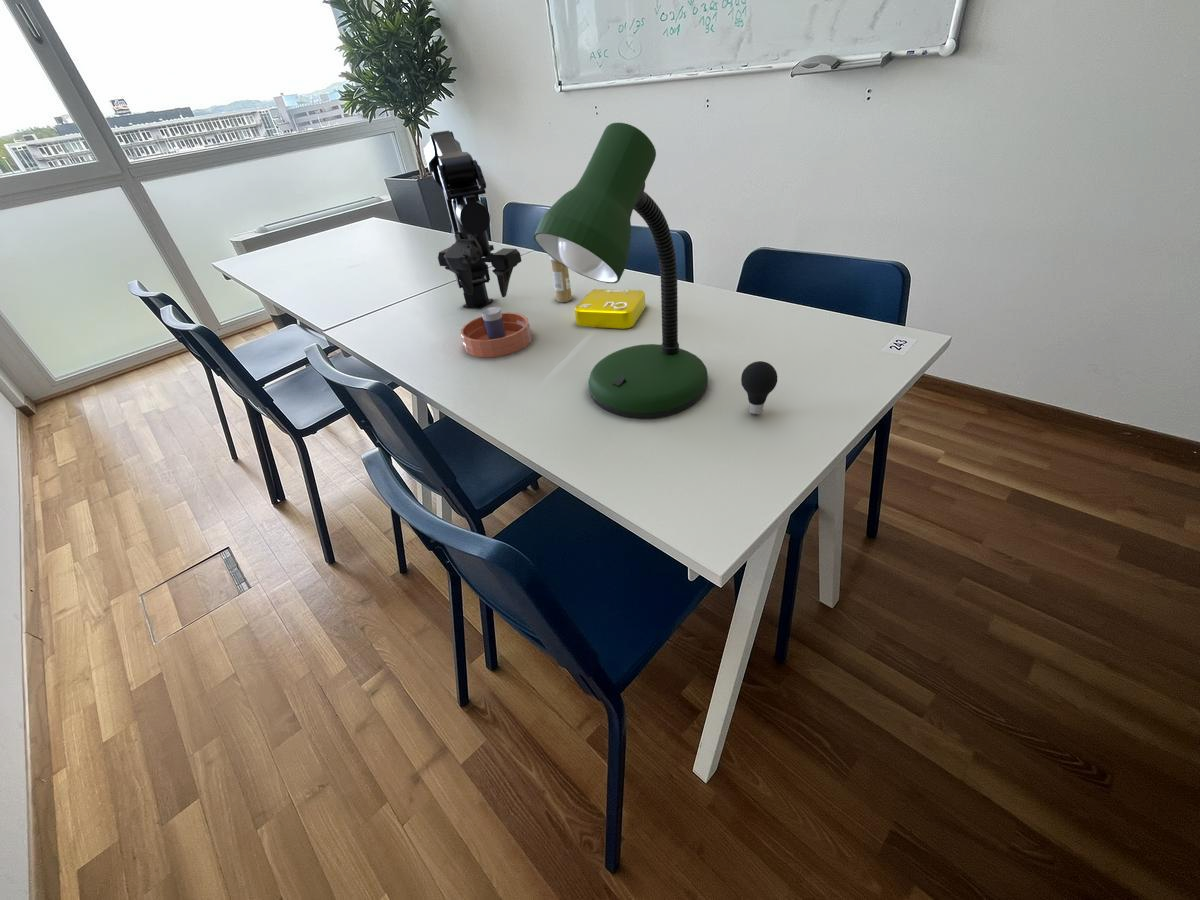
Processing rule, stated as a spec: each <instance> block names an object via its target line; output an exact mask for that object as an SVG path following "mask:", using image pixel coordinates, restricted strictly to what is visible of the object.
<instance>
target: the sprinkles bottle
mask: <svg viewBox="0 0 1200 900" xmlns="http://www.w3.org/2000/svg"><path fill="white" fill-rule="evenodd" d="M549 260H550V263H551V270H552V279H553V284H554V290H555V295H556V302H558V303H568V302H570V301H572V300H573V295H572V289H571V280H570V273H569V268H567V267H565V266H564V265H562V264H561V263H559V262H558V261H556V260H555V259H553V258H552V257H551V256H550V255H549Z"/></svg>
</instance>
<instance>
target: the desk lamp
mask: <svg viewBox="0 0 1200 900" xmlns="http://www.w3.org/2000/svg"><path fill="white" fill-rule="evenodd" d="M602 132H603V133H602V134H601V136H600V139H599V141H598V142H597V145H596V147H595V149H594V151H593V153H592V154H591V158H590V160H589V161H588V163H587V166H586V168H585V170H584V171H583V173H582V176H581V177H580V179H579V180H578V182H577V183H576V185H575V186H574V187H573V188H572V189H570V190H568V191H567V192H566V193H564V194H563V195H561V196H560V198H558V199H557V200H556V202H555V203H554V204H552V205H551V207H549V209H548V210H547V211H546V212H545V213H544V214H543V215H542V217H541V219H540V221H539V223H538V225H537V227H536V229H535V232H534V234H533V241H535V243H536V244H537V245H538V246H539V247H540V249H541V250H542V251H544V252H545V254H547V255H548V256H549V257H550V256H551V257H552V258H553V259H555V260H556V261H558V262H559V263H561V264H562V265H564V266H565V267H567V268H568V270H570V271H572V272H574V273H577V274H578V275H580V276H583V277H585V278H588V279H591V280H593V281H596V282H599V283H600V282H601V283H604V284H605V283H606V284H617V283H619V282H620V280H621V278H622V276H623V274H624V271H625V269H626V268H627V266H628V260H629V254H630V253H629V252H630V247H631V239H632V238H631V237H632V223H631V218H632V214H633V211H635V212H636V213H637V214H638V215H639V216H640V217H641V218H642V219H643V221H644V222H645V224H646V225H647V228H648V229H649V231H650V233H651V236H652V238H653V241H654V245H655V249H656V252H657V257H658V264H659V271H660V272H659V273H660V274H659V275H660V305H661V340H662V343H661V344H658V343H657V344H655V343H650V344H649V343H647V344H637V345H632V346H628V347H624V348H621V349H619V350H616V351H614V352H611V353H610V354H608V355H606V356H605V357H603V358H602V359H600V360H599V361H598V362H597V363H596V364H595V365H594V367H593V368H592V370H591V371H590V372H589V373H590V374H589V378H588V389H589V394H590V397H591V399H592V400H593V402H594V403H595V404H597V405H598V406H599V407H600V408H602V409H603V410H606V411H607V412H609V413H612V414H615V415H617V416H621V417H626V418H630V419H639V420H640V419H641V420H648V419H649V420H651V419H653V420H655V419H661V418H665V417H670V416H673V415H677V414H679V413H681V412H683V411H685V410H687V409H689V408H691V407H692V406H694V405H695V404H697V403H698V402H699V401H700V400H701V399H702V398H703V397H704V396H705V394H706V392H707V390H708V381H709V376H708V369H707V366H706V365H705V363H704V362H703V360H702V359H701V358H700V357H698V356H697V355H696V354H694V353H692V352H690V351H688V350H685V349H683V348H681V347H680V344H679V337H678V336H679V334H678V333H679V330H678V329H679V323H678V322H679V321H678V320H679V319H678V317H679V316H678V314H679V313H678V311H679V310H678V306H679V302H678V301H679V299H678V266H677V257H676V249H675V245H674V240H673V237H672V233H671V229H670V227H669V224H668V221H667V219H666V216H665V215H664V213H663V211H662V210H661V208H660V207H659V205H658V204H657V203H656V201H655V200H654V199H653V198H652V197H651V196H650V195H649V194H648V193H647V192H646V191H645V188H646V180H647V178H648V176H649V174H650V172H651V170H652V167H653V166H654V163H655V161H656V159H657V158H656V157H657V152H656V147H655V145H654V143H653V142H652V141H651V139H650V138H649V137H648V135H646V133H645V132H643V131H642V130H641V129H639V128H638V127H636V126H634V125H632V124H630V123H629V124H628V123H625V122H612V123H610V124H608V125H606V127H605V129H604V131H602Z"/></svg>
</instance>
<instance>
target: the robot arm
mask: <svg viewBox="0 0 1200 900" xmlns="http://www.w3.org/2000/svg"><path fill="white" fill-rule="evenodd" d="M423 151H424V157H425V162H426V165H427V169H428V172H429V173H432V177H433V179H434V181H435V183H436V184H437V185H438V186H439V187H440V188H441V190H442V192H443V195H444V199H445V204H446V208H447V212H448V216H449V219H450V223H451V227H452V232H453V237H454V239H455V240H454V241H455V242H454V243H452V244H451V246H449V247H447V248H445V249H442V250H441V251H439V252H438V255H437V261H438V264H439V267H444V269H445V270H448V271H450V272H452V273H454V276H455V280H456V283H457V286H458V288H459V289H462V292H463V293H462V295H463V297H464V302H465V303H464V304H463V305H462V307H463V308H464V309H465V308H466V309H477V310H478V309H479V310H481V309H483V308H484V307H486V306H488V305H490V304H491V303H493V301H494V299H493V298H489V295H488V290H487V286H486V283H490V281H491V277H490V271H489V264H487V263H491V266H492V267H493V269H492V271H491V272H492V273H493V274H495V276H496V279H497V283H498V284H497V285H498V287H499V288H498V289H499V292H500V296H501V297H502V298H506V297H507V293H508V289H509V285H510V280H511V276H512V273H513V270H514V268H515V267H517V266H518V265H519V264H520V263H521V262H522V256H521V255H522V254H521V253H520V251H519V250H518V249H517V248H508V247H507V248H506V247H505V248H504V247H503V248H501V249H499V250H498V251H496V252H492V251H494V250H495V247H494V244H490V242H489V237H488V233H487V232H489V231H490V223H491V215H490V212H489V211H488V208H486V207H485V205H484V204H483V203H482V202H481V200H480V196H479V195H486V189H487V183H486V180H485V177H484V173H483V171H482V168H481V166H480V165H479V163H478V161H477V160H476V159H473V156H472V155H471V154H470V153H469V152H468V151H463V149H462V146H461V143H460V142H459V141H458V140H457V139H456V138H455V136H454V132H453V131H452V130H451V131H450V130H442V131H434V132H432V133H431V134H429V141H428V142H427V143H426V145H425V146H424V147H423Z"/></svg>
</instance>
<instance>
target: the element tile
mask: <svg viewBox="0 0 1200 900" xmlns="http://www.w3.org/2000/svg"><path fill="white" fill-rule="evenodd" d="M645 309H646V293H645V291H644V290H640V289H616V288H615V289H607V288H594V289H592V290H591V291H589V292H588V293H587V294H586V296H584V298H583V299H582V300H580V302H579V303H578V304H577V305H576V307H574V315H575V323H576V325H577V326H579V327H585V328H586V327H588V328H596V329H597V328H598V329H599V328H600V329H617V330H618V329H621V330H626V329H627V330H628V329H631V328H633V327H634V325H635V324H636V323H637V321H638V320H639V318H640V317H641V315H642V313H643V312H644V311H645Z"/></svg>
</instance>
